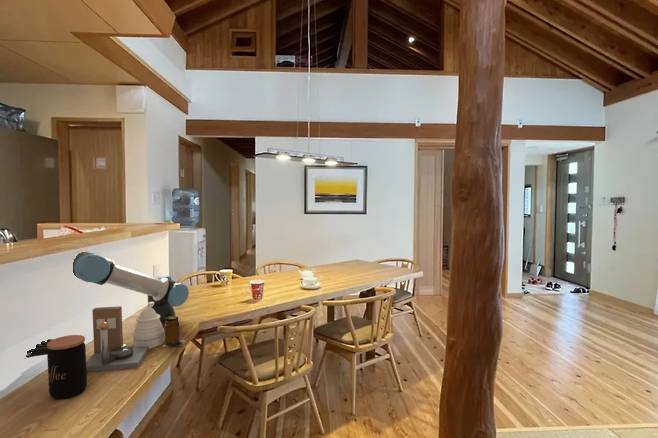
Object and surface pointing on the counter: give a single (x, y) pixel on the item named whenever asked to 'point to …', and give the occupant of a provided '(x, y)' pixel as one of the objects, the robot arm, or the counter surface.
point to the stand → (112, 341)
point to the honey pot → (148, 329)
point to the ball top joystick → (116, 352)
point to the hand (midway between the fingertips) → (82, 344)
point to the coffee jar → (67, 366)
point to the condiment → (172, 332)
